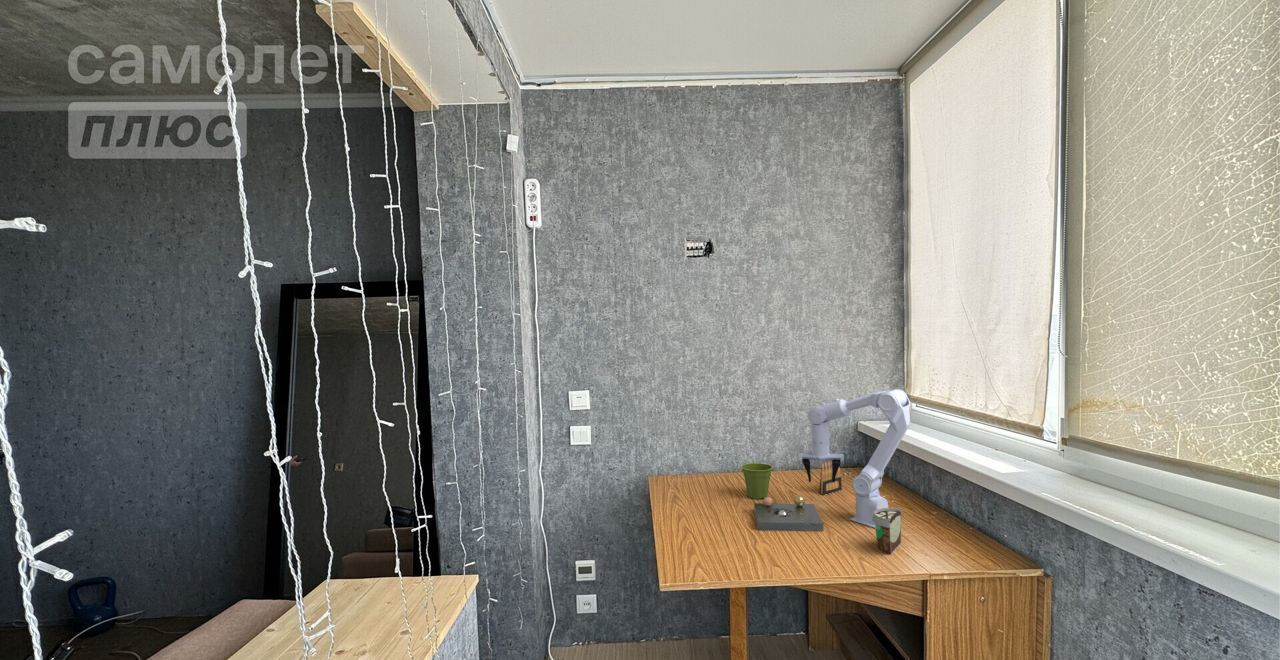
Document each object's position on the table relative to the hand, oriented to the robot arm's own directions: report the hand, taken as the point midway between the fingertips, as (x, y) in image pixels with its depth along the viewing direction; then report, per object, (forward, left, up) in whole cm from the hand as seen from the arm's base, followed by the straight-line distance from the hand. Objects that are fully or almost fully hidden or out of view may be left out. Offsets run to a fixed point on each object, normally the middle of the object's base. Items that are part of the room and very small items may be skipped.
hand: (821, 481), depth 201 cm
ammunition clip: (+13, -20, -11) cm, 26 cm away
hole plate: (+1, +16, -10) cm, 19 cm away
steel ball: (+2, +17, -9) cm, 19 cm away
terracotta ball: (+10, +15, -6) cm, 19 cm away
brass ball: (+3, +7, -6) cm, 10 cm away
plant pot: (+26, +5, -11) cm, 29 cm away
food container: (-31, +10, -11) cm, 34 cm away
